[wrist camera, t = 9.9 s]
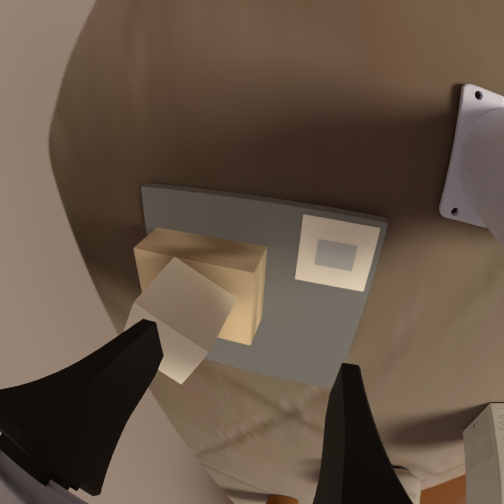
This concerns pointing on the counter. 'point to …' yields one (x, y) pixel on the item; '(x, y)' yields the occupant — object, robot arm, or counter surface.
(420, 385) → the counter surface
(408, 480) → the teacup
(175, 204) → the board
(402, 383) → the counter surface
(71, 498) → the robot arm
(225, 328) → the oak base brick
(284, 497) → the disposable coffee cup
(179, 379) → the cream cube
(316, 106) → the counter surface
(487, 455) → the small box
